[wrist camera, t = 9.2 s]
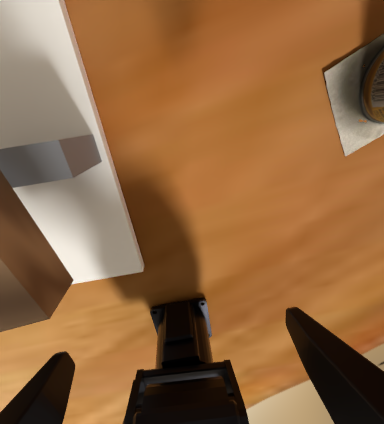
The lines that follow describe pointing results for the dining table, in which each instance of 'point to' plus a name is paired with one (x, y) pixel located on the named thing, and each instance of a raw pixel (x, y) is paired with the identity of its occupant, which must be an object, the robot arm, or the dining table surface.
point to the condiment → (358, 95)
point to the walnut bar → (26, 266)
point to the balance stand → (60, 144)
